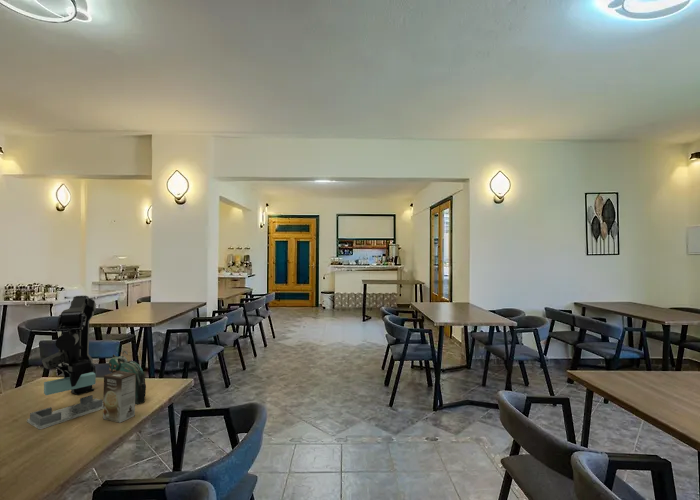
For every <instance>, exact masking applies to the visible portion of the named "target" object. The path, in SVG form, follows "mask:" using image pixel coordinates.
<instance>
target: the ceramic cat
mask: <svg viewBox="0 0 700 500" xmlns="http://www.w3.org/2000/svg"><path fill="white" fill-rule="evenodd" d="M124 353H125V354H126V355H127V356H128V352H127V350H124V351H123V352H122V354H124ZM119 370H120V371H125V372H130V373H136V383H135V405H141V404H143V403H145V401H146V391H147V385H146V378H145V377H146V376H145V372H144V371H143V368H142V367H141V365H140V364H139V363H137V362H136V361H135V360H128V359H127V357H126V356H124V355H120V356H116V354H114V353H113V354H112V357H111V358H110V360H109V361H108V371H109V372H110V373H113V372H116V371H119Z"/></svg>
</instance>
